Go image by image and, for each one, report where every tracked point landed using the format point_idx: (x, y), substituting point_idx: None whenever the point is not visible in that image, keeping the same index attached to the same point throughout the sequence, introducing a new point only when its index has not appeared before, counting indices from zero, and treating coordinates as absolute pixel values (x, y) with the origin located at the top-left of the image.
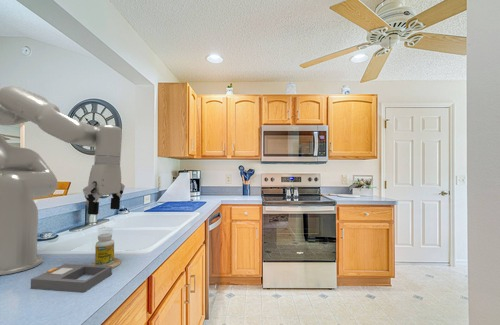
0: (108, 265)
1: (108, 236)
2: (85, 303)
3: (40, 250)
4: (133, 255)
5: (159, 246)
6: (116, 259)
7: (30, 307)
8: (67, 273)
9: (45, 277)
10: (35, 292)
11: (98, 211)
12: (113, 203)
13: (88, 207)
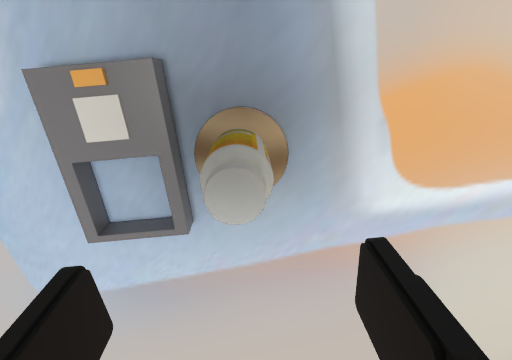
0: None
1: (227, 222)
2: None
3: None
4: (332, 182)
5: (426, 211)
6: (277, 166)
7: (5, 175)
8: (101, 150)
9: (52, 108)
10: None
11: (102, 350)
12: (385, 317)
13: (18, 321)
